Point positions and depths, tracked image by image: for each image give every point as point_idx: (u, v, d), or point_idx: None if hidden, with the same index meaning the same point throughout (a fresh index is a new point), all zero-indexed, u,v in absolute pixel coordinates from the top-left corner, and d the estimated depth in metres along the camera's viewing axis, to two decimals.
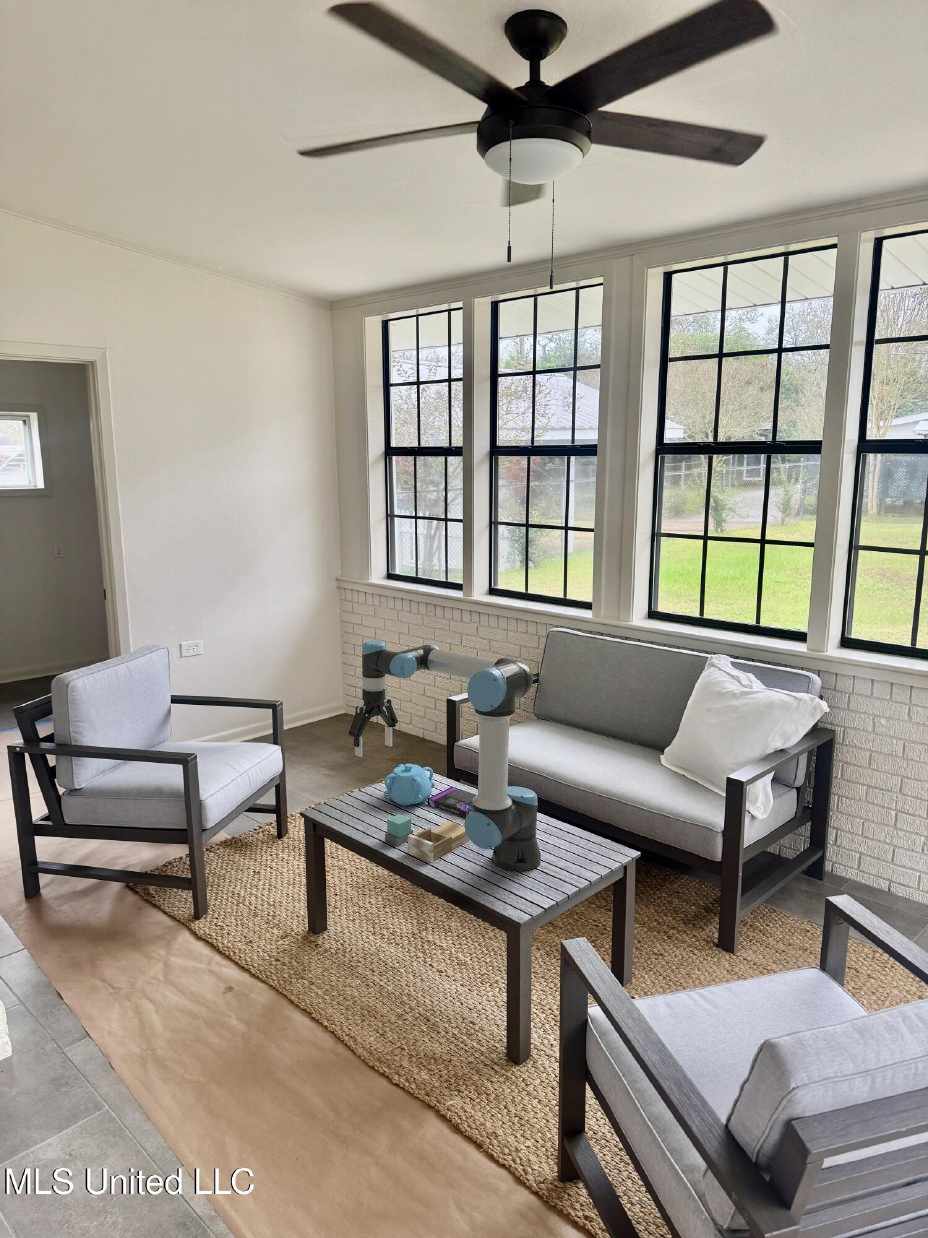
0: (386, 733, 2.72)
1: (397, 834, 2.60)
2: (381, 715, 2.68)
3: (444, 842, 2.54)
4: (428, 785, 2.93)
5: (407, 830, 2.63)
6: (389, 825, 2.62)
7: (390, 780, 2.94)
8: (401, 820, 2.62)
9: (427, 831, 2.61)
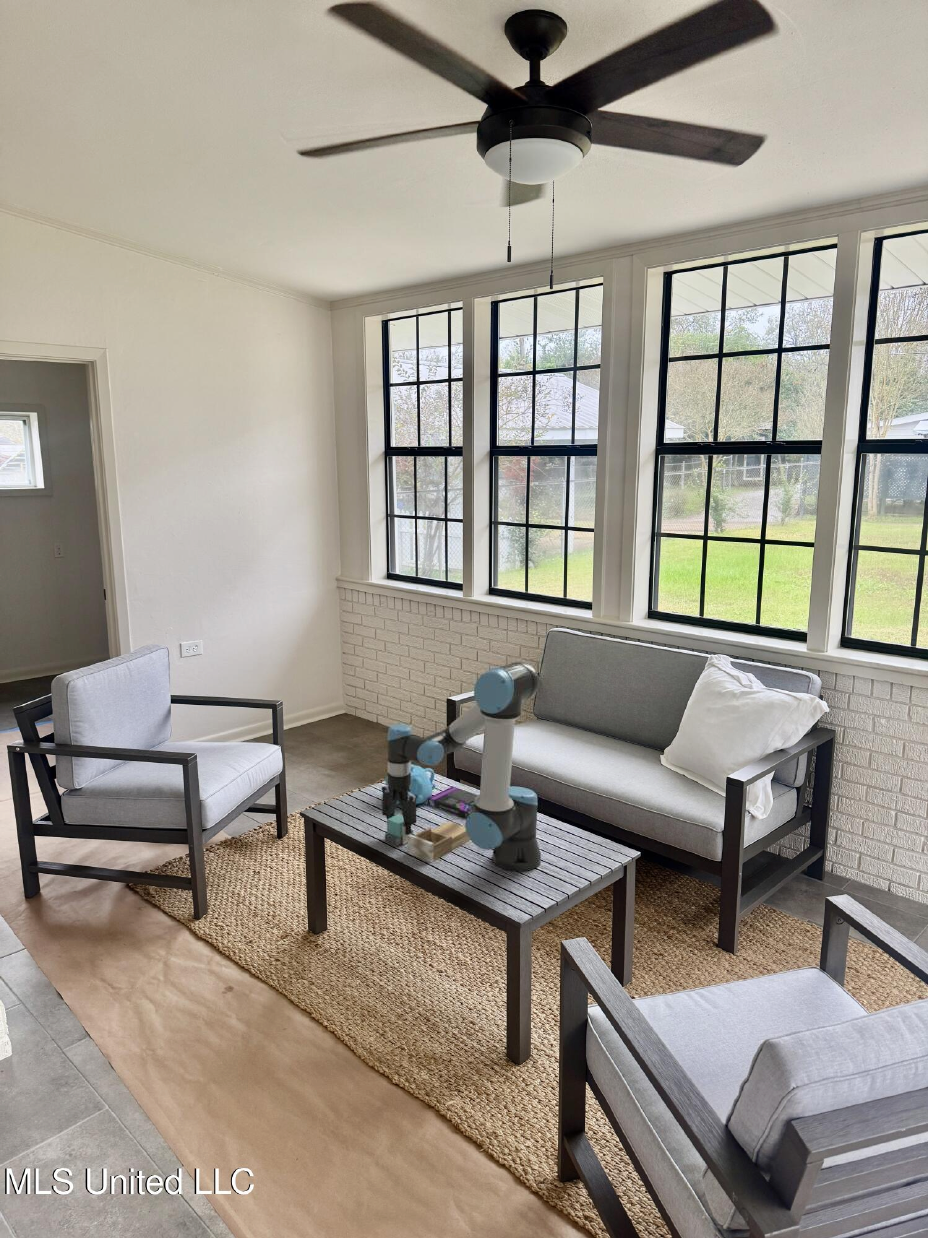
0: None
1: (397, 834, 2.60)
2: None
3: (444, 842, 2.54)
4: (429, 786, 2.93)
5: None
6: (389, 825, 2.62)
7: None
8: (401, 820, 2.62)
9: (427, 831, 2.61)
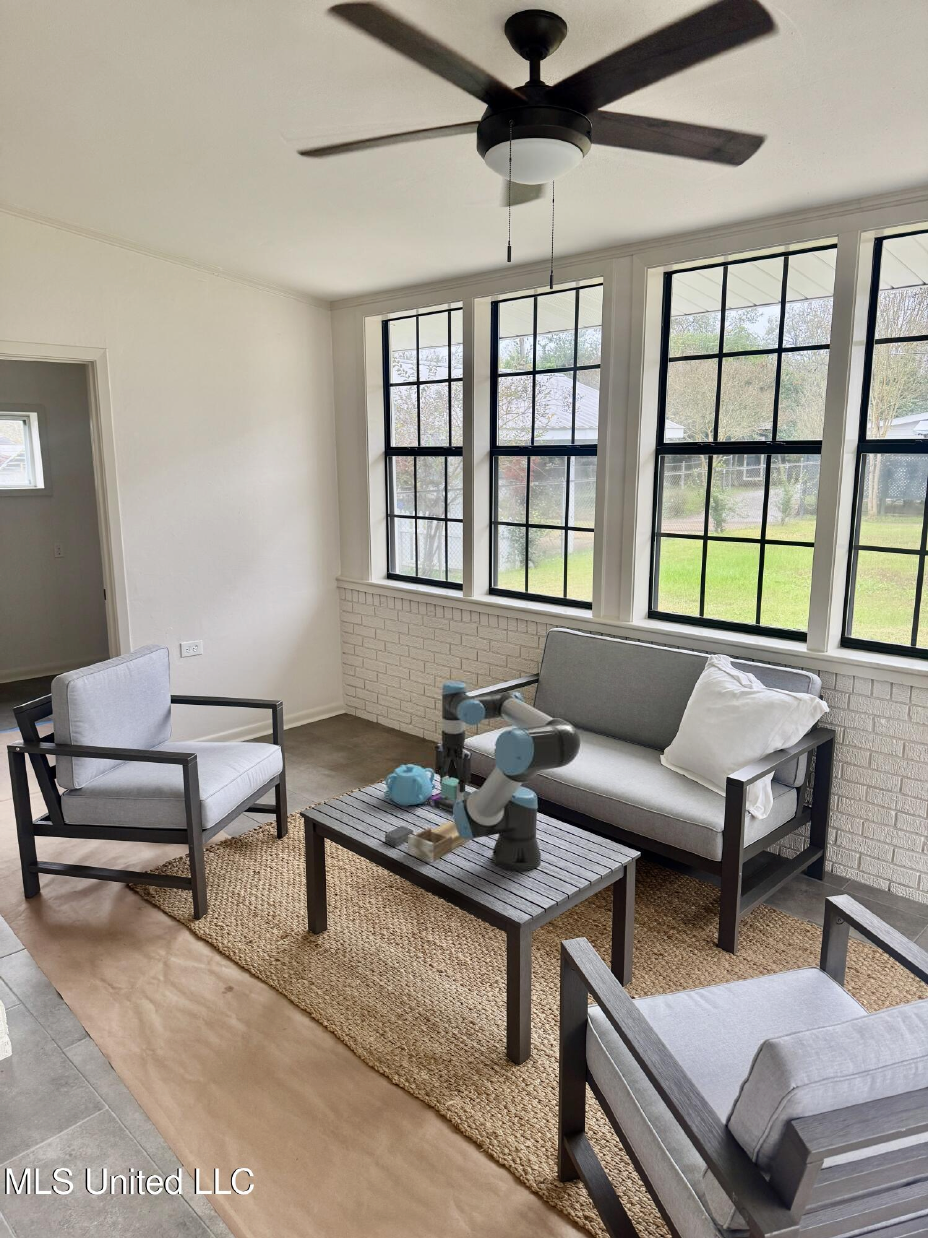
0: None
1: (451, 796, 2.59)
2: None
3: (444, 842, 2.54)
4: (429, 786, 2.93)
5: None
6: (443, 788, 2.61)
7: (391, 780, 2.94)
8: (454, 782, 2.61)
9: (427, 831, 2.61)
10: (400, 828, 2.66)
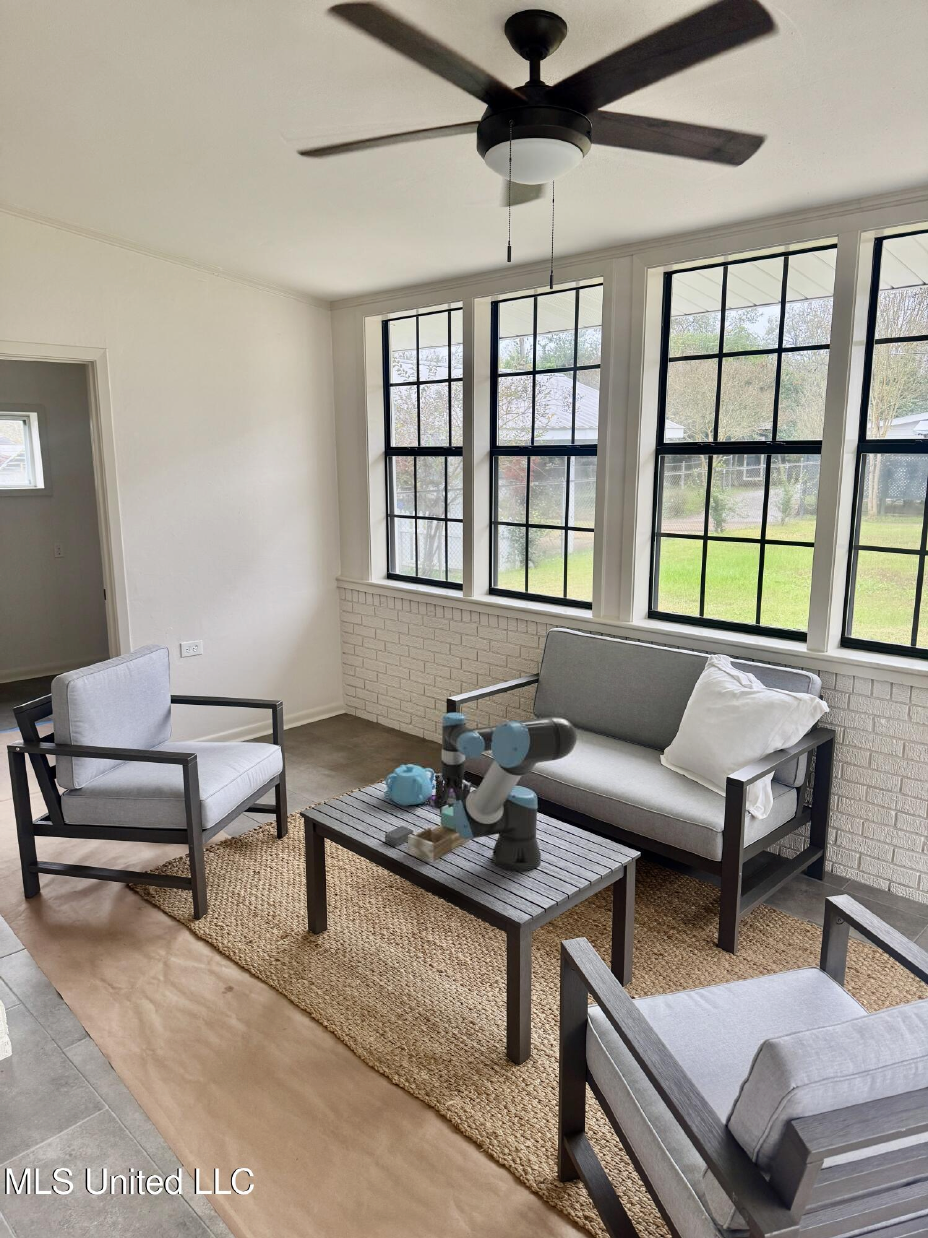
0: None
1: (451, 826, 2.61)
2: None
3: (444, 842, 2.54)
4: (429, 786, 2.93)
5: None
6: (443, 817, 2.63)
7: (391, 780, 2.94)
8: None
9: (427, 831, 2.61)
10: (400, 828, 2.66)
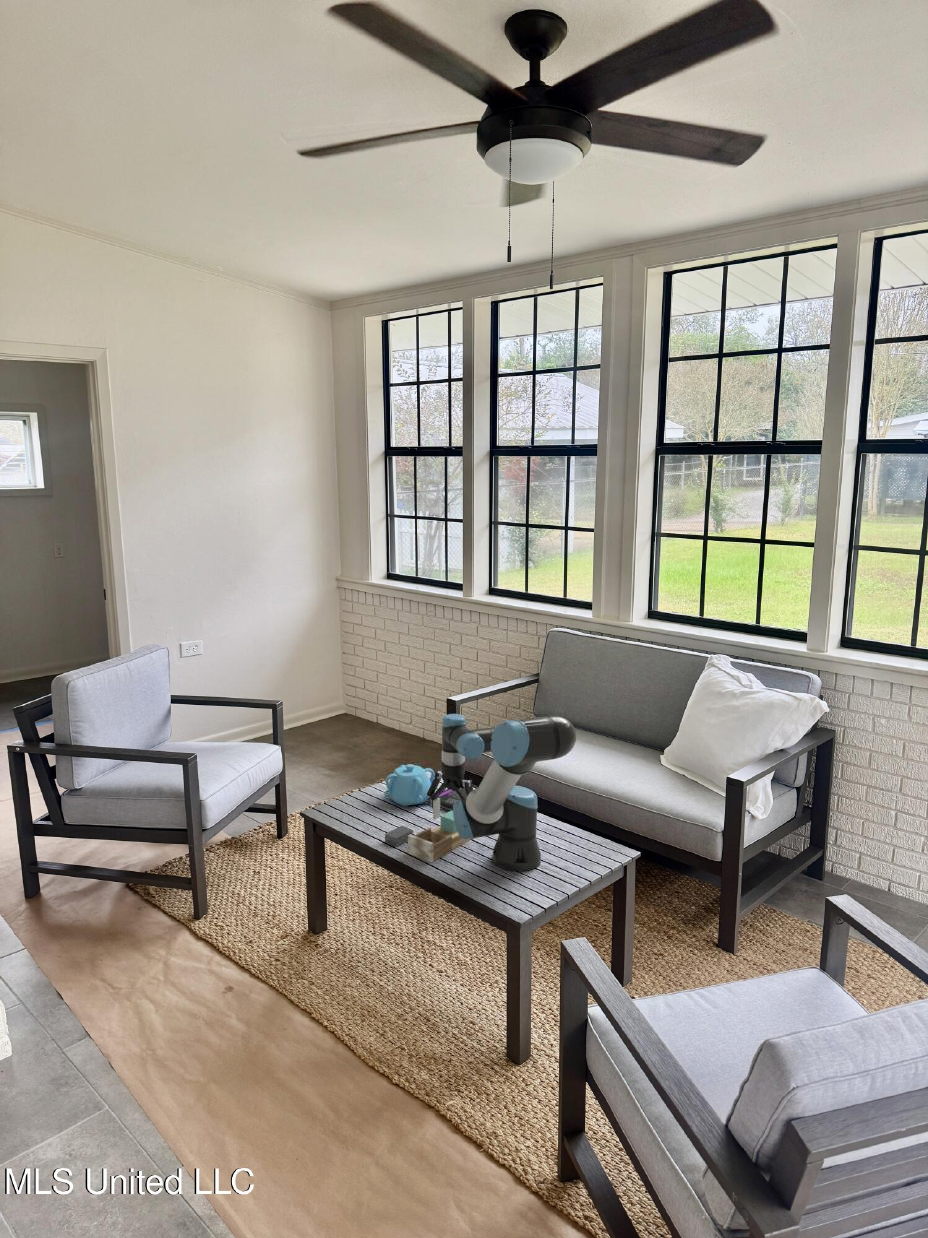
0: None
1: (451, 830, 2.61)
2: None
3: (444, 842, 2.54)
4: (429, 786, 2.93)
5: None
6: (443, 822, 2.63)
7: (391, 780, 2.94)
8: None
9: (427, 831, 2.61)
10: (400, 828, 2.66)
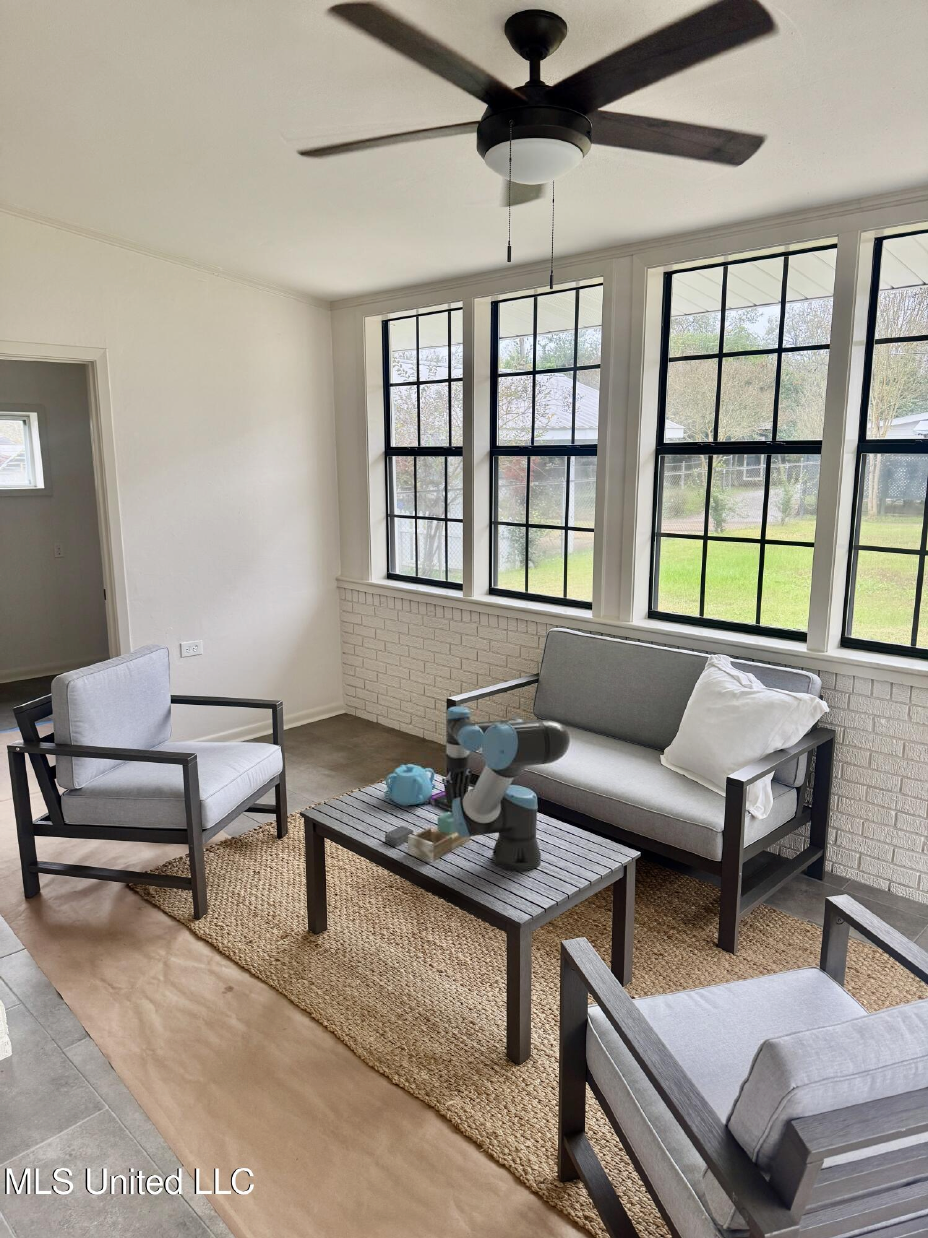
0: None
1: (448, 832, 2.61)
2: None
3: (444, 842, 2.54)
4: (429, 786, 2.93)
5: None
6: (440, 823, 2.62)
7: (391, 780, 2.94)
8: (451, 817, 2.62)
9: (427, 831, 2.61)
10: (400, 828, 2.66)
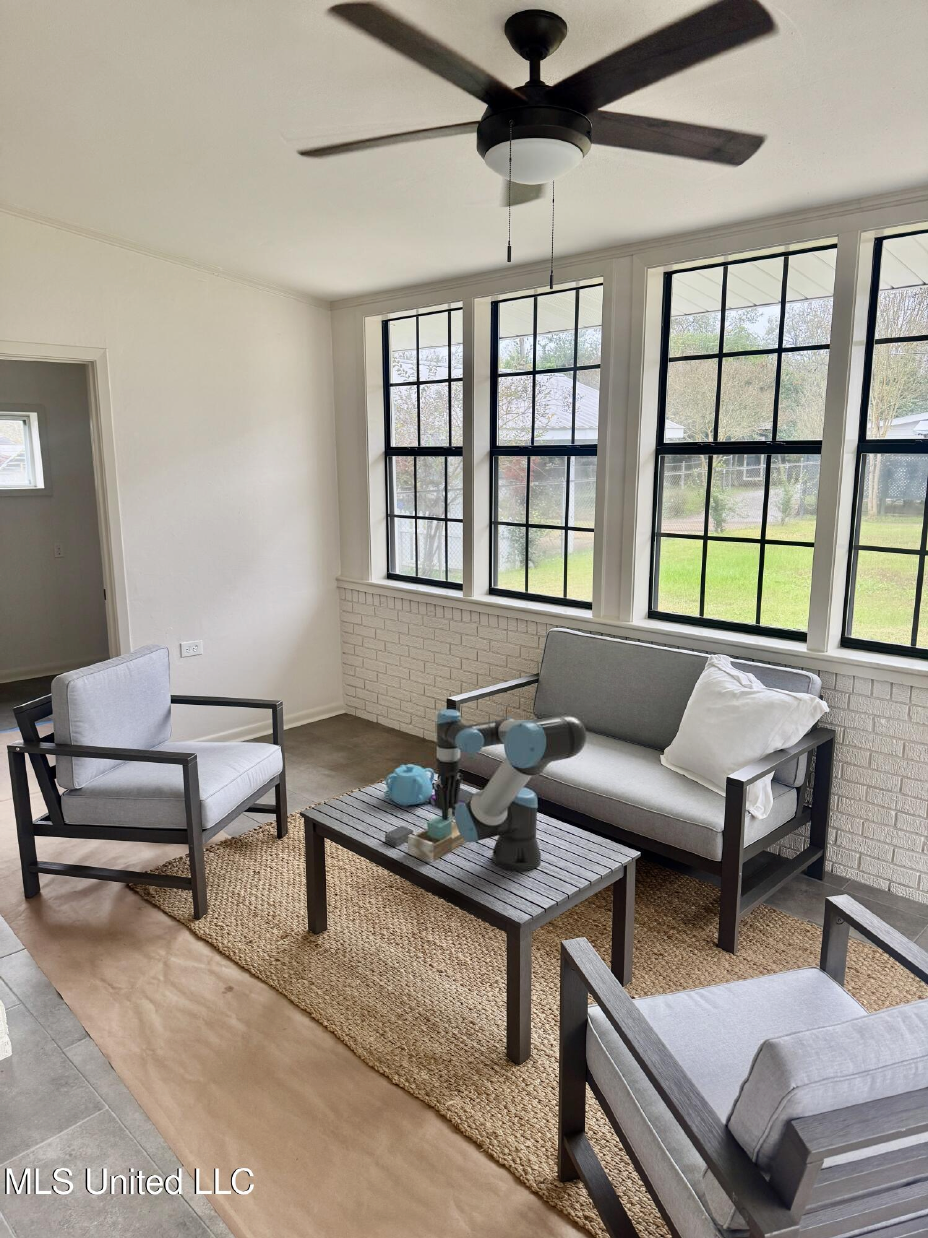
0: None
1: (438, 837, 2.57)
2: None
3: (444, 842, 2.54)
4: (429, 786, 2.93)
5: (448, 833, 2.59)
6: (429, 828, 2.59)
7: (391, 780, 2.94)
8: (441, 822, 2.59)
9: (427, 831, 2.61)
10: (400, 828, 2.66)
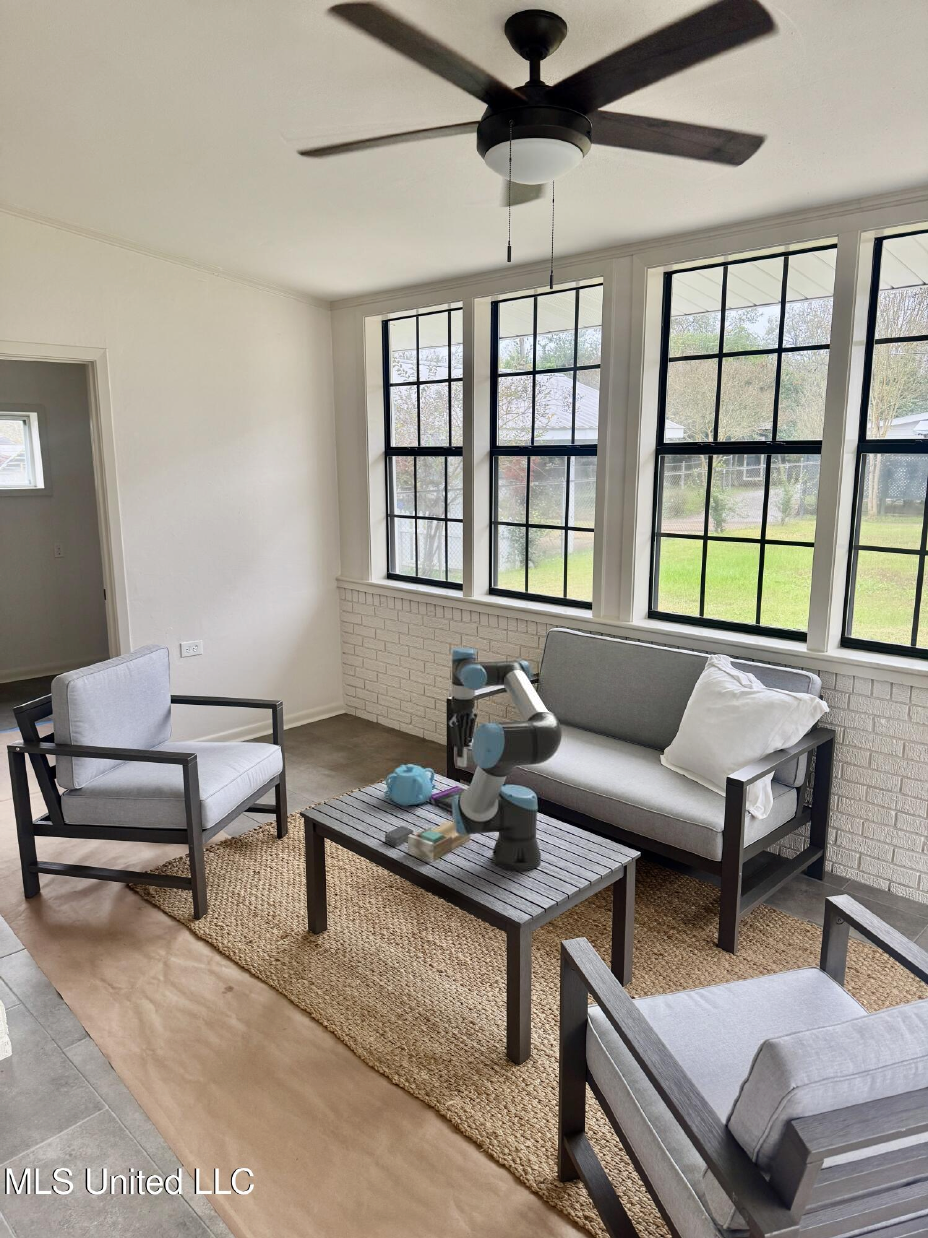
0: None
1: None
2: None
3: (444, 842, 2.54)
4: (429, 786, 2.93)
5: (440, 840, 2.57)
6: None
7: (391, 780, 2.94)
8: None
9: None
10: (400, 828, 2.66)
